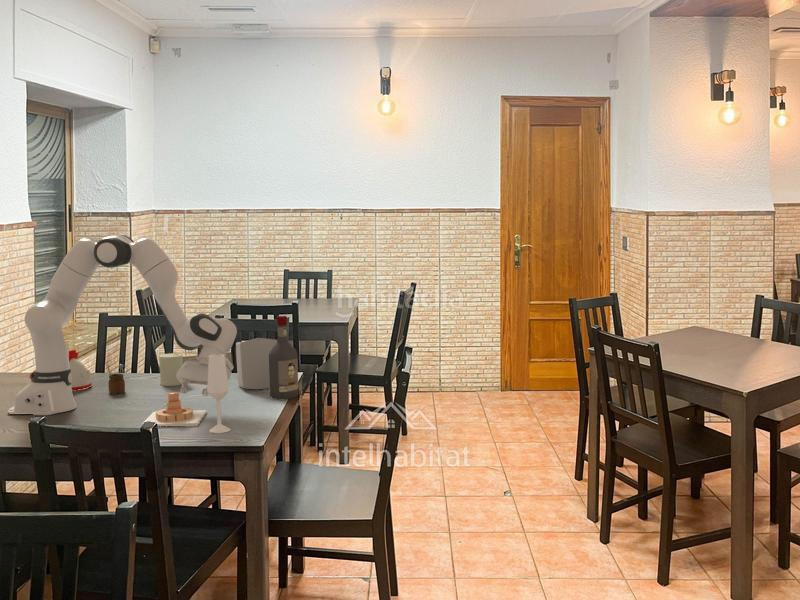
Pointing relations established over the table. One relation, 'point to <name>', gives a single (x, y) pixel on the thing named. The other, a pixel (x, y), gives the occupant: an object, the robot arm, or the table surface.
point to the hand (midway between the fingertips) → (193, 393)
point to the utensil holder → (116, 382)
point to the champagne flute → (217, 386)
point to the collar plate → (179, 423)
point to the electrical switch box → (254, 363)
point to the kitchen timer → (78, 372)
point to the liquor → (283, 365)
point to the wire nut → (173, 404)
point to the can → (170, 368)
